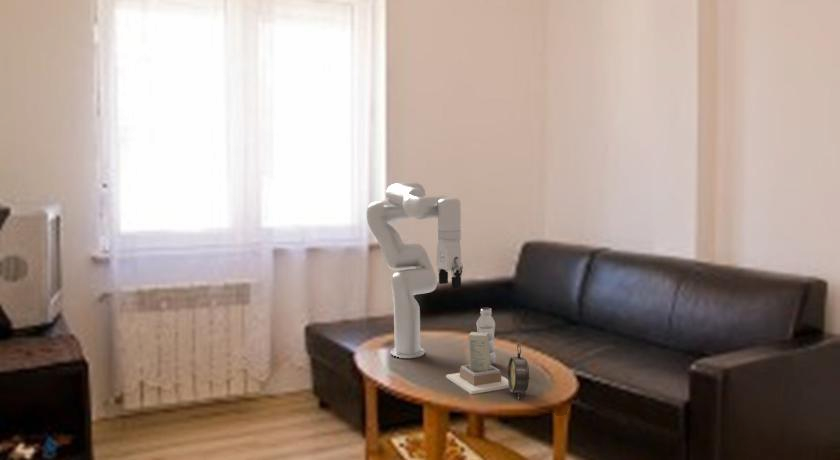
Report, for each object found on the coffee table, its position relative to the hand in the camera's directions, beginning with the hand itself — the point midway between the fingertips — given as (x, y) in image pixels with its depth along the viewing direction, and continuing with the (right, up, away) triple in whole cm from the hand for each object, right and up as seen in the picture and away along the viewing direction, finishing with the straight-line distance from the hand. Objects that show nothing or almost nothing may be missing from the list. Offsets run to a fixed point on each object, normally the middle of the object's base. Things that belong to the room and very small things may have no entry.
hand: (449, 286), depth 251 cm
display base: (+10, -31, -5) cm, 33 cm away
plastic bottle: (+13, -29, +14) cm, 35 cm away
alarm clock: (+21, -33, -18) cm, 43 cm away
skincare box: (+9, -27, -5) cm, 29 cm away
